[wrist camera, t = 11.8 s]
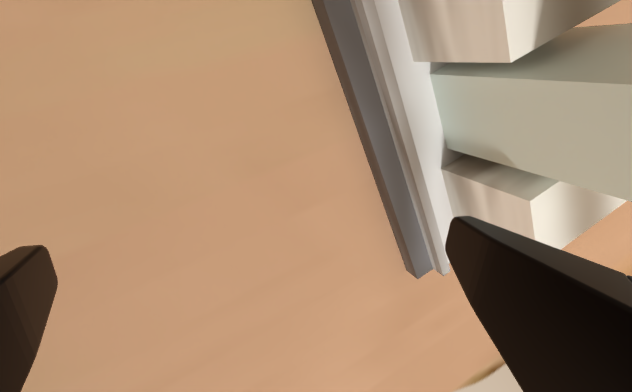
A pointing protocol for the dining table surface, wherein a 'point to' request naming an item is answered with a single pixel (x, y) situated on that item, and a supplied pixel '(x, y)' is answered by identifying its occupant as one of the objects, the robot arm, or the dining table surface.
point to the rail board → (425, 125)
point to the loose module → (549, 109)
